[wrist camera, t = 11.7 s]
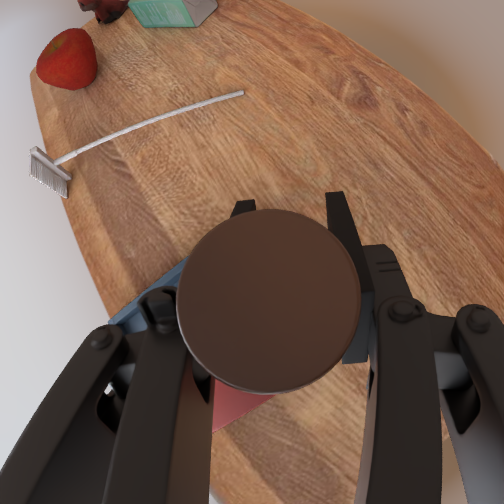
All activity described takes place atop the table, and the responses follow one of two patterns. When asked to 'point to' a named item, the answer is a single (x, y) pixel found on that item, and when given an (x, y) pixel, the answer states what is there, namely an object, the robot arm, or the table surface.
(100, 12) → the stuffed fox
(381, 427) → the robot arm
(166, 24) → the box
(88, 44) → the apple
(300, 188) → the table surface
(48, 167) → the brush
